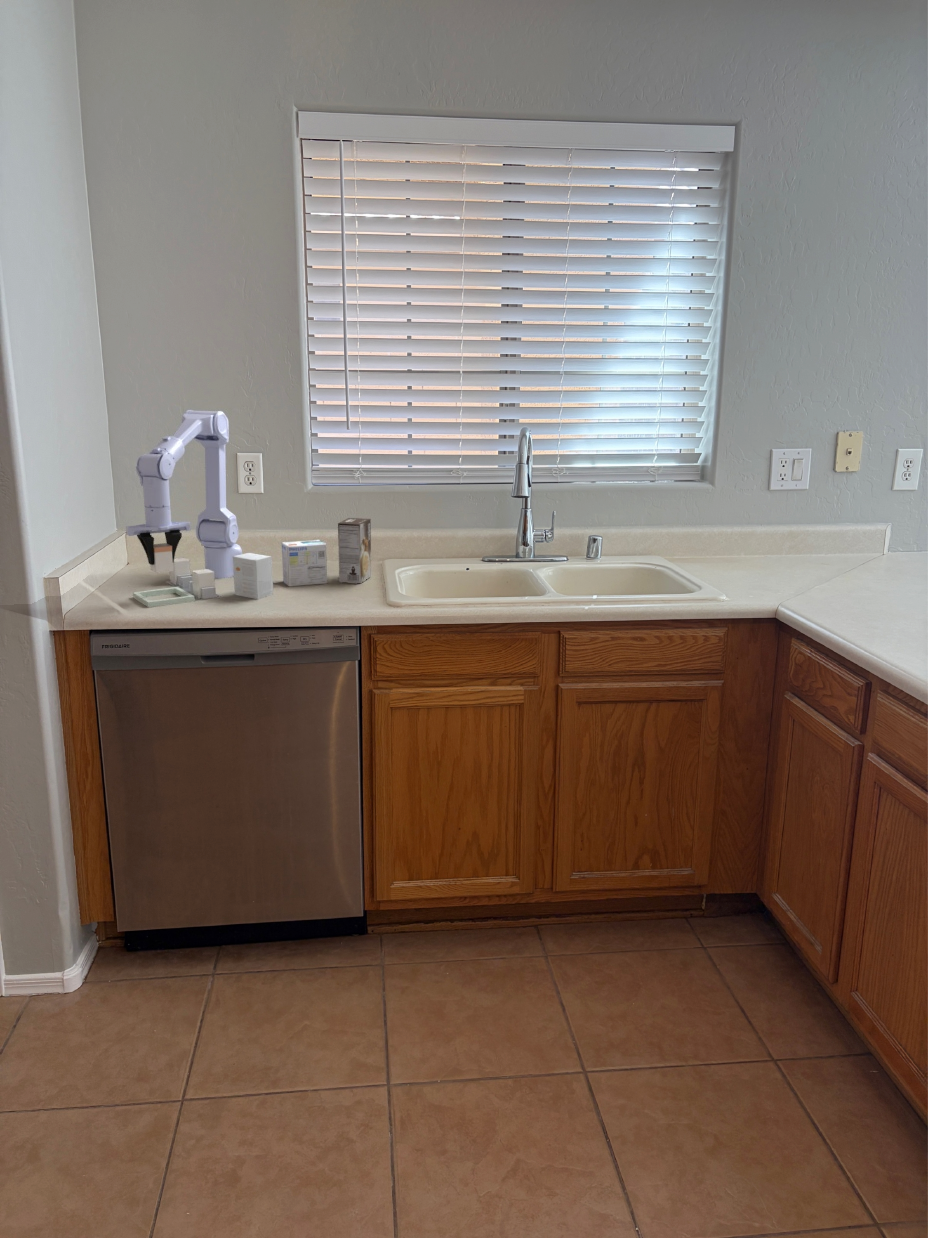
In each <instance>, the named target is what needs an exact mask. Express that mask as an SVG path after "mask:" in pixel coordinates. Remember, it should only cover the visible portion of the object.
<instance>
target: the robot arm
mask: <svg viewBox="0 0 928 1238" xmlns="http://www.w3.org/2000/svg"><path fill="white" fill-rule="evenodd" d="M229 422H230V421H229V419H228V417H227V415H226V414H225V413H224V412H223V411H222V410H218V411H215V410H214V411H213V410H210V411H209V410H192V409H188V410H186V411H185V412H184V414H182V415H181V424H180V425H179V427H178V428H177V429H176V431H175V432H174V434H173V435H167V436H166V435H165V436H162V438H161V440H160V442H159V443H158V444H157V445H155V447H153V448H152V450H151V451H150V452H149V453H143V454H142V455H140V456H139V457H138V459H137V462H136V466H135V470H136V473H137V476H138V477H139V481H140V482H139V483H140V485H141V486H142V489H143V502H144V503H143V504H144V515H145V520H144V521H145V523H143V524H137V525H131V526H129V525H128V526H126V527H125V529H126V530H125V531H126V536H129V537H132V536H133V537H134V536H136V537H137V539H138V541H139V542H140V543H141V546H142V547H143V549H144V552H145V555H146V558H147V561H148V564H149V565H150V564H151V565H154V543H155V538H154V536H152V534H161V533H164V537H165V541H166V542H165V543H167V544H169V545H171V546H172V560H173V563H174V558H176V557H175V556H176V551H177V548H178V546H179V543H180V541H181V539H182V535H183V534H182V532H183V531H186V532H188V531H189V532H190V531H191V522H190V521H172V514H171V513H172V512H171V511H172V509H171V497H170V496H171V495H170V481H169V479H170V478H172V477H173V474H174V469H175V466H176V463H177V462H178V461H179V460H180V459H181V458H182V457H183V456H184V454H185V451H186V450H185V446H187V445H188V444H189V443H190V442H191V441H193V440H195V441H196V442H197V443H200V444H201V445H202V446H203V447H204V464H205V465H204V468H205V469H204V470H205V471H204V472H205V474H204V475H205V509H204V510H203V511H202V512H200V513H199V514H198V515H197V523H196V527H195V536H196V538H197V540H198V542H199V543H201V546H202V547H203V554H204V569H209V570H211V571H213V572H214V578H215V580H216V579H217V580H218V579H227V578H232V577H233V578H234V572H233V556H236V555H241V554H243V551H242V547H241V546H240V545H239V544H238V543H237V541H238V540H239V535H240V533H239V532H240V531H239V526H238V523H237V522H238V520H237V516H236V515H235V514H234V513H233V512H232V511H230V510H229V509H228V508H227V481H226V480H227V479H226V478H227V476H226V475H227V471H226V468H227V466H226V465H227V464H226V445H227V444H228V443H229V442H230V439H229V437H230V433H229V432H230V429H229V428H230V427H229V425H230V423H229Z"/></svg>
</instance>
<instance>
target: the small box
mask: <svg viewBox="0 0 928 1238" xmlns="http://www.w3.org/2000/svg"><path fill="white" fill-rule="evenodd" d="M272 562H273V558H272V556H270V555H265V554H264V555H263V554H257V553H254V552H246V553H242V554H241V555H236V556H233V572H234V577H233V581H234V582H233V583H234V584H233V585H234V595H235V596H240V597H245V598H249V599H255V600H261V599H265V598H267V597H271V596H274V581H273V578H274V576H273V563H272Z"/></svg>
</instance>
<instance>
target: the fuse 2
mask: <svg viewBox="0 0 928 1238" xmlns="http://www.w3.org/2000/svg"><path fill="white" fill-rule="evenodd" d="M191 576H192V579H193V595H195V596H197V597H198V598H202V595H201V588H206V587H215V588H216V579H215V578H214V572H213V571H211V570H209V569H205V568H204V569H196V570H191Z"/></svg>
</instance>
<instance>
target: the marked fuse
mask: <svg viewBox="0 0 928 1238" xmlns="http://www.w3.org/2000/svg"><path fill="white" fill-rule="evenodd" d="M149 565H150V570H151V571H152V572H154V573H157V574H158V573H164V572H165V573H167V572H170V571H173V560H172V546H171V545H169V544H167V543H166V542H165V543H164V542H163V543H155V544H154V565H151V564H149Z"/></svg>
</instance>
